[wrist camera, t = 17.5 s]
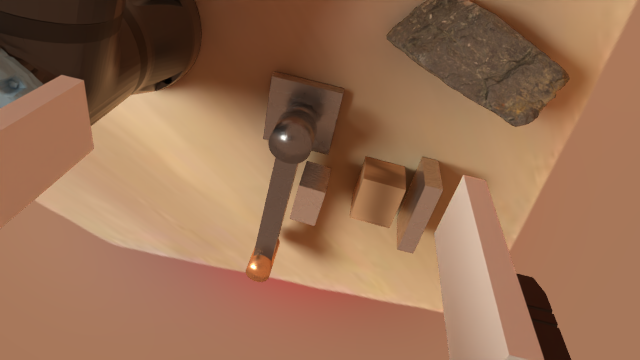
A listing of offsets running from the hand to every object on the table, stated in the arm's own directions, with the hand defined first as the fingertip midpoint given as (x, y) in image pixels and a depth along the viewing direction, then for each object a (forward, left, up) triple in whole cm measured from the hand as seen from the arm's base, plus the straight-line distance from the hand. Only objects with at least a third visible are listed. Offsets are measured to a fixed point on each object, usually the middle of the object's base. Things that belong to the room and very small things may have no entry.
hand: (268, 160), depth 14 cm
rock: (+13, -2, -32) cm, 35 cm away
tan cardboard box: (+9, -21, -32) cm, 39 cm away
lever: (-1, -23, -29) cm, 37 cm away
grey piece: (+4, -18, -32) cm, 37 cm away
